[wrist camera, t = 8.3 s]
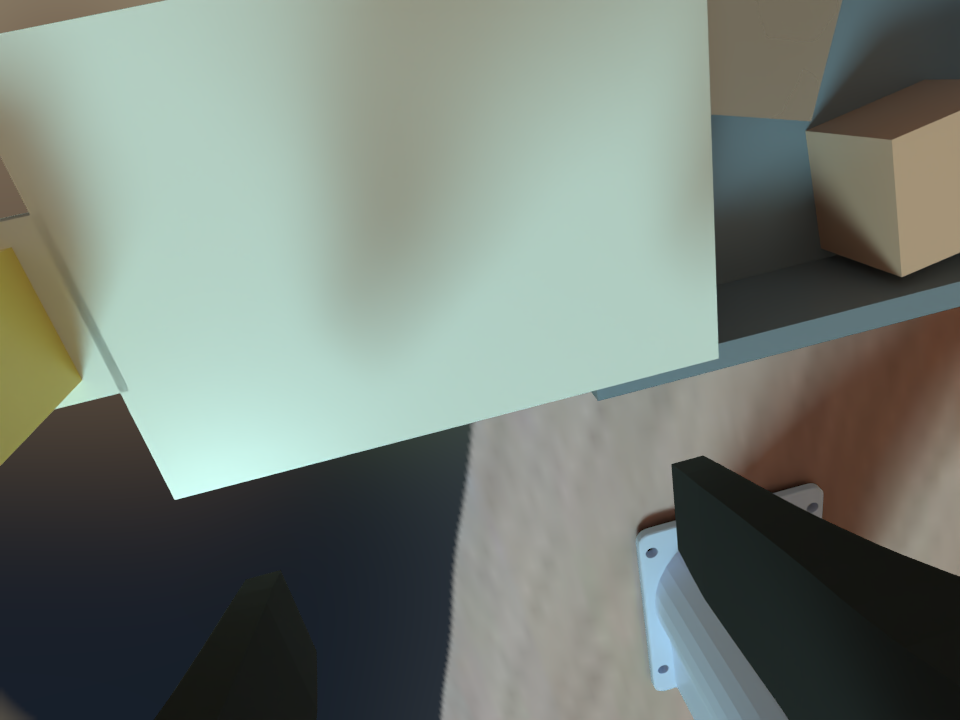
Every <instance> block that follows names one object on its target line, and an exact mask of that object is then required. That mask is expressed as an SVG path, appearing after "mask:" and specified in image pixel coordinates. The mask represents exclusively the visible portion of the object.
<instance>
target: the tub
mask: <svg viewBox="0 0 960 720" xmlns="http://www.w3.org/2000/svg"><path fill="white" fill-rule="evenodd" d="M940 79H960V0H842V4H841V8H840V11H839V15H838V19H837V23H836V27H835V31H834V35H833V39H832V43H831V47H830V51H829V54H828V58H827V62H826V66H825V70H824V74H823V78H822V82H821V86H820V90H819V93H818V97H817V101H816V105H815V109H814V113H813V117H812V121H798V120H784V119H769V118H755V117H740V116H726V115H711V137H712V167H713V198H714V229H715V259H716V290H717V321H718V352H719V358H718V359H715V360H711V361H707V362H703V363H699V364H695V365H692V366H688V367H684V368H680V369H676V370H672V371H668V372H665V373H661V374H657V375H653V376H649V377H645V378H642V379H638V380H634V381H630V382H626V383H622V384H618V385H615V386H611V387H607V388H603V389H599V390H595V391H591V392H592V393H593V395H594V396H595V397H596V399H597V400H598V401H600V400H604V399H608V398H611V397H615V396H619V395H623V394H627V393H631V392H634V391H638V390H642V389H646V388H650V387H654V386H657V385H661V384H665V383H669V382H673V381H677V380H680V379H684V378H688V377H692V376H696V375H700V374H703V373H707V372H711V371H715V370H719V369H722V368H726V367H730V366H734V365H738V364H742V363H745V362H749V361H753V360H757V359H761V358H765V357H768V356H772V355H776V354H780V353H784V352H788V351H791V350H795V349H799V348H803V347H807V346H811V345H814V344H818V343H822V342H826V341H830V340H833V339H837V338H841V337H845V336H849V335H853V334H856V333H860V332H864V331H868V330H872V329H876V328H879V327H883V326H887V325H891V324H895V323H899V322H902V321H906V320H910V319H914V318H918V317H922V316H925V315H929V314H933V313H937V312H941V311H944V310H948V309H952V308H956V307H960V253H957V254H955V255H953V256H950V257H948V258H946V259H943V260H941V261H939V262H936V263H934V264H932V265H929V266H927V267H925V268H922V269H920V270H918V271H915V272H913V273H911V274H908V275H906V276H904V277H900V276H897V275H894V274H891V273H888V272H886V271H883V270H880V269H877V268H874V267H872V266H869V265H866V264H863V263H860V262H858V261H855V260H852V259H849V258H846V257H844V256H841V255H838V254H835V253H832V252H830V251H827V250H824V249H821V245H820V238H819V230H818V223H817V215H816V208H815V200H814V193H813V185H812V178H811V170H810V163H809V155H808V148H807V140H806V133H805V131H806V130H809V129H811V128H813V127H816V126H818V125H820V124H823V123H825V122H827V121H830V120H832V119H834V118H837V117H839V116H841V115H844V114H846V113H848V112H851V111H853V110H855V109H858V108H860V107H862V106H864V105H867V104H869V103H871V102H874V101H876V100H878V99H881V98H883V97H885V96H888V95H890V94H892V93H895V92H897V91H899V90H902V89H904V88H906V87H909V86H911V85H913V84H916V83H918V82H920V81H923V80H940Z"/></svg>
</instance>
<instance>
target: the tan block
mask: <svg viewBox="0 0 960 720" xmlns="http://www.w3.org/2000/svg"><path fill="white" fill-rule="evenodd" d="M805 133H806V140H807V148H808V155H809V163H810V170H811V178H812V185H813V193H814V200H815V208H816V215H817V223H818V230H819V238H820V245H821V249H824V250H827V251H830V252H832V253H835V254H838V255H841V256H844V257H846V258H849V259H852V260H855V261H858V262H860V263H863V264H866V265H869V266H872V267H874V268H877V269H880V270H883V271H886V272H888V273H891V274H894V275H897V276H900V277H904V276H906V275H908V274H911V273H913V272H915V271H918V270H920V269H922V268H925V267H927V266H929V265H932V264H934V263H936V262H939V261H941V260H943V259H946V258H948V257H950V256H953V255H955V254H957V253H960V79H940V80H923V81H920V82H918V83H916V84H913V85H911V86H909V87H906V88H904V89H902V90H899V91H897V92H895V93H892V94H890V95H888V96H885V97H883V98H881V99H878V100H876V101H874V102H871V103H869V104H867V105H864V106H862V107H860V108H858V109H855V110H853V111H851V112H848V113H846V114H844V115H841V116H839V117H837V118H834V119H832V120H830V121H827V122H825V123H823V124H820V125H818V126H816V127H813V128H811V129H809V130H806V131H805Z"/></svg>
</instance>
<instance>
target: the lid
mask: <svg viewBox="0 0 960 720" xmlns="http://www.w3.org/2000/svg"><path fill="white" fill-rule="evenodd" d="M0 157H1V159H2V161H3V163H4V165H5V167H6V169H7V171H8V173H9V175H10V177H11V178H12V181H13V183H14V184H15V187H16V188H17V190H18V192H19V194H20V196H21V198H22V200H23V202H24V204H25V206H26V208H27V210H28V213H24V214H20V215H15V216H11V217H6V218H2V219H0V466H1V465H2V464H3V462H4V461H5V460H6V459H7V458H8V457H9V456H10V455H11V454H12V453H13V452H14V451H15V450H16V449H17V448H18V447H19V446H20V445H21V444H22V443H23V442H24V441H25V439H26V438H27V437H28V436H29V435H30V434H31V433H32V432H33V431H34V430H35V429H36V428H37V427H38V426H39V425H40V424H41V423H42V422H43V420H45V419H46V417H48V415H49V414H50V413H51V412H52V411H53V410H54V409H57V408H61V407H65V406H69V405H73V404H77V403H81V402H86V401H90V400H94V399H97V398H102V397H106V396H110V395H114V394H118V393H121V395H122V397H123V399H124V401H125V403H126V405H127V407H128V409H129V411H130V413H131V415H132V417H133V419H134V421H135V423H136V425H137V426H138V429H139V431H140V433H141V435H142V436H143V438H144V440H145V442H146V444H147V446H148V448H149V450H150V452H151V454H152V456H153V458H154V460H155V462H156V464H157V466H158V468H159V470H160V472H161V474H162V476H163V478H164V480H165V482H166V484H167V486H168V488H169V489H170V491H171V494H172V495H173V497H174V499H175V500H176V499H180V498H184V497H187V496H191V495H195V494H199V493H203V492H207V491H211V490H214V489H218V488H222V487H226V486H230V485H233V484H238V483H241V482H245V481H248V480H253V479H257V478H261V477H264V476H268V475H272V474H276V473H280V472H284V471H288V470H291V469H295V468H299V467H303V466H307V465H311V464H314V463H318V462H322V461H326V460H330V459H333V458H337V457H341V456H345V455H349V454H353V453H357V452H361V451H364V450H368V449H372V448H376V447H380V446H384V445H387V444H391V443H395V442H399V441H403V440H407V439H411V438H414V437H418V436H422V435H426V434H430V433H434V432H438V431H441V430H445V429H449V428H453V427H457V426H461V425H465V424H468V423H472V422H476V421H480V420H484V419H488V418H491V417H495V416H499V415H503V414H507V413H511V412H515V411H518V410H522V409H526V408H530V407H534V406H538V405H541V404H545V403H549V402H553V401H557V400H561V399H565V398H568V397H572V396H576V395H580V394H584V393H588V392H591V391H595V390H599V389H603V388H607V387H611V386H615V385H618V384H622V383H626V382H630V381H634V380H638V379H642V378H645V377H649V376H653V375H657V374H661V373H665V372H668V371H672V370H676V369H680V368H684V367H688V366H692V365H695V364H699V363H703V362H707V361H711V360H715V359H718V358H719V352H718V321H717V290H716V259H715V229H714V198H713V167H712V137H711V106H710V75H709V44H708V14H707V0H165V1H160V2H155V3H150V4H145V5H140V6H135V7H130V8H125V9H120V10H115V11H111V12H105V13H100V14H95V15H91V16H85V17H81V18H76V19H71V20H66V21H61V22H56V23H51V24H46V25H41V26H36V27H31V28H26V29H22V30H16V31H12V32H7V33H2V34H0Z"/></svg>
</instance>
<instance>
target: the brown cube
mask: <svg viewBox="0 0 960 720" xmlns="http://www.w3.org/2000/svg"><path fill="white" fill-rule="evenodd" d="M841 4H842V0H707V14H708V44H709V75H710V106H711V115H726V116H740V117H755V118H769V119H784V120H798V121H812V117H813V113H814V109H815V105H816V101H817V97H818V93H819V90H820V86H821V82H822V78H823V74H824V70H825V66H826V62H827V58H828V54H829V51H830V47H831V43H832V39H833V35H834V31H835V27H836V23H837V19H838V15H839V11H840V8H841Z"/></svg>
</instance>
